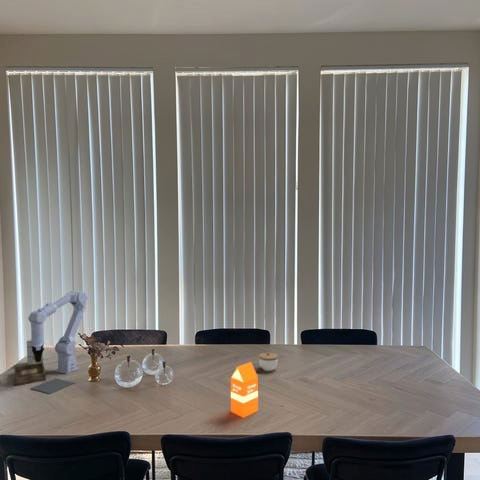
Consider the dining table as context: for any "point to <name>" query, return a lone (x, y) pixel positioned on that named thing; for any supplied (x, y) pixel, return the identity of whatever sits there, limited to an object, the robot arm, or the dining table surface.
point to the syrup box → (29, 353)
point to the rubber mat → (52, 386)
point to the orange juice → (244, 390)
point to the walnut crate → (29, 374)
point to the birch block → (35, 361)
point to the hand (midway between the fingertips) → (38, 360)
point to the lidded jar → (268, 361)
